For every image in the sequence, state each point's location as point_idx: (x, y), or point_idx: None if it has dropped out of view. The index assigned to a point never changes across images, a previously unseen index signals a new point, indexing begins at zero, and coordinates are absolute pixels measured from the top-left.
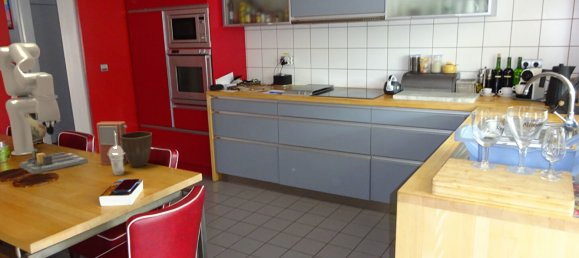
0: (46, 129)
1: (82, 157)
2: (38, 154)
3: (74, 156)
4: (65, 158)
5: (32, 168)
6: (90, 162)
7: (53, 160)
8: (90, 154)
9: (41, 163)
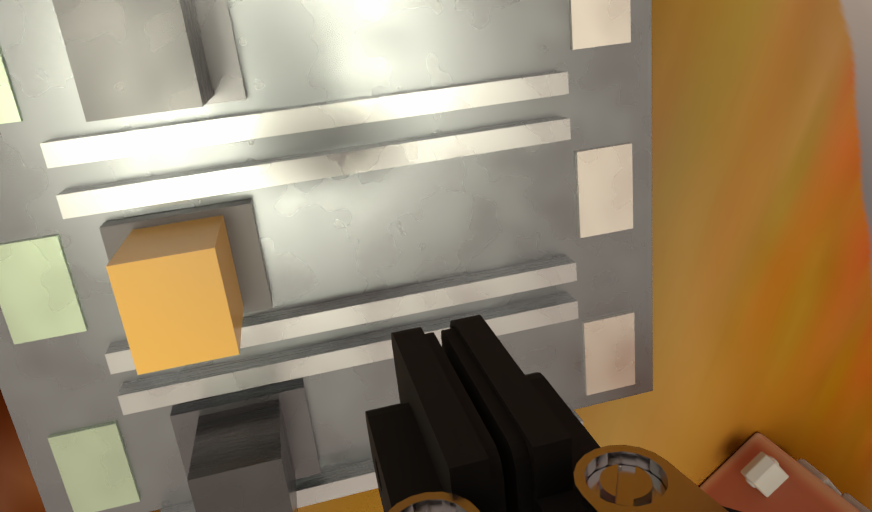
0: (385, 496)
1: (645, 293)
2: (141, 340)
3: (597, 200)
4: (478, 297)
5: (60, 472)
6: (653, 377)
7: (333, 329)
8: (799, 4)
9: (177, 394)
